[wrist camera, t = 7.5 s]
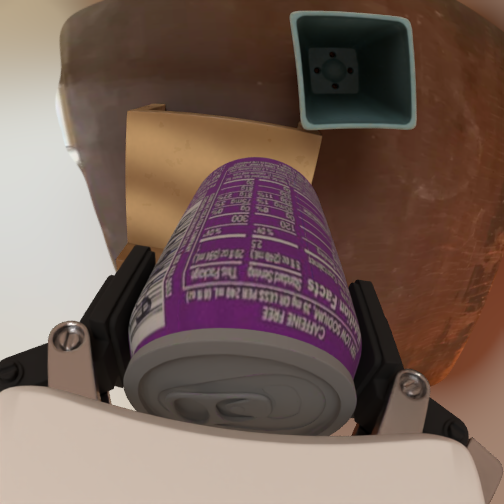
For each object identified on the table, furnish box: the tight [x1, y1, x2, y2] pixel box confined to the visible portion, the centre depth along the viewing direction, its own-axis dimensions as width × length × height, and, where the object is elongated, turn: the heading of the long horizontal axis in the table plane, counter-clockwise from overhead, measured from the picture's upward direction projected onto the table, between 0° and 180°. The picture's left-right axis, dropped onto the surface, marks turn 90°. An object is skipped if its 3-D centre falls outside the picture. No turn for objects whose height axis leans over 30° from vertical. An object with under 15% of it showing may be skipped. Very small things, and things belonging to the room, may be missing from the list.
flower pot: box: [290, 11, 417, 130], centre depth 21 cm, size 9×9×9 cm
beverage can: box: [123, 157, 362, 436], centre depth 12 cm, size 7×7×12 cm
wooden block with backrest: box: [116, 104, 322, 270], centre depth 27 cm, size 14×16×9 cm
